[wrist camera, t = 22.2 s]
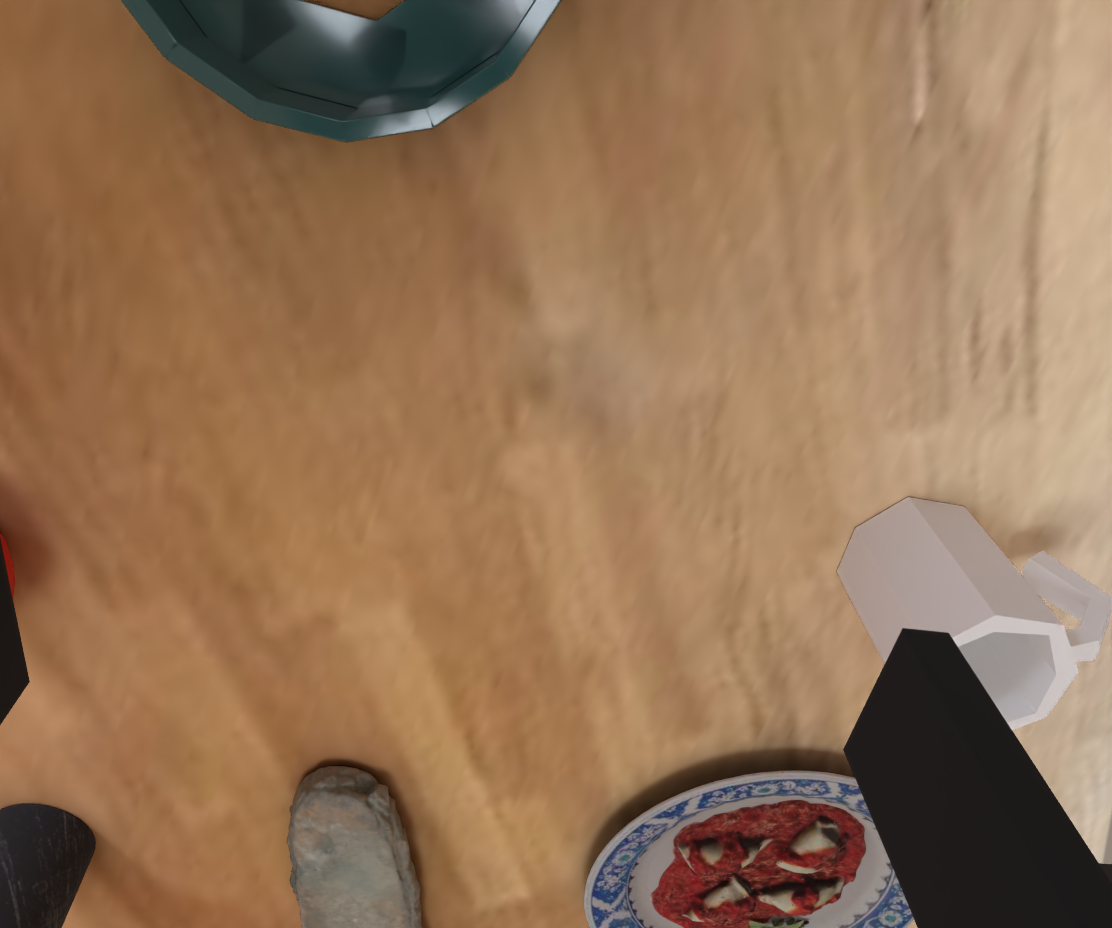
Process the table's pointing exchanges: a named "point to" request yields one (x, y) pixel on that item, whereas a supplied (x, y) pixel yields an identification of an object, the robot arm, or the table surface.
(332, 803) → the elongated rock
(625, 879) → the ceramic plate
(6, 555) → the red vase
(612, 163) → the table surface
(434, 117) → the teal ring
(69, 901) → the travel mug
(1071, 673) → the mug
